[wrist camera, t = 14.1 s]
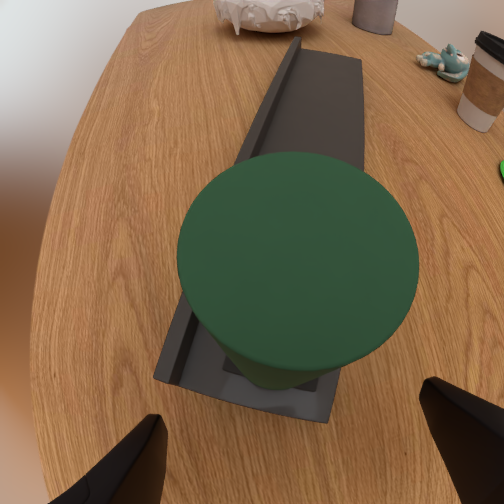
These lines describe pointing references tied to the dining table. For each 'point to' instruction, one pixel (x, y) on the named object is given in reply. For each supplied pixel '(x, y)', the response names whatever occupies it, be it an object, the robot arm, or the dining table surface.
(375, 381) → the dining table surface
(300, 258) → the green cylinder on block
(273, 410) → the shoe shelf
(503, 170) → the green flat round tray
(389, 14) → the pillar candle
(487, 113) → the coffee cup
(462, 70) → the stuffed animal
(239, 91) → the dining table surface
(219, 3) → the bowl
